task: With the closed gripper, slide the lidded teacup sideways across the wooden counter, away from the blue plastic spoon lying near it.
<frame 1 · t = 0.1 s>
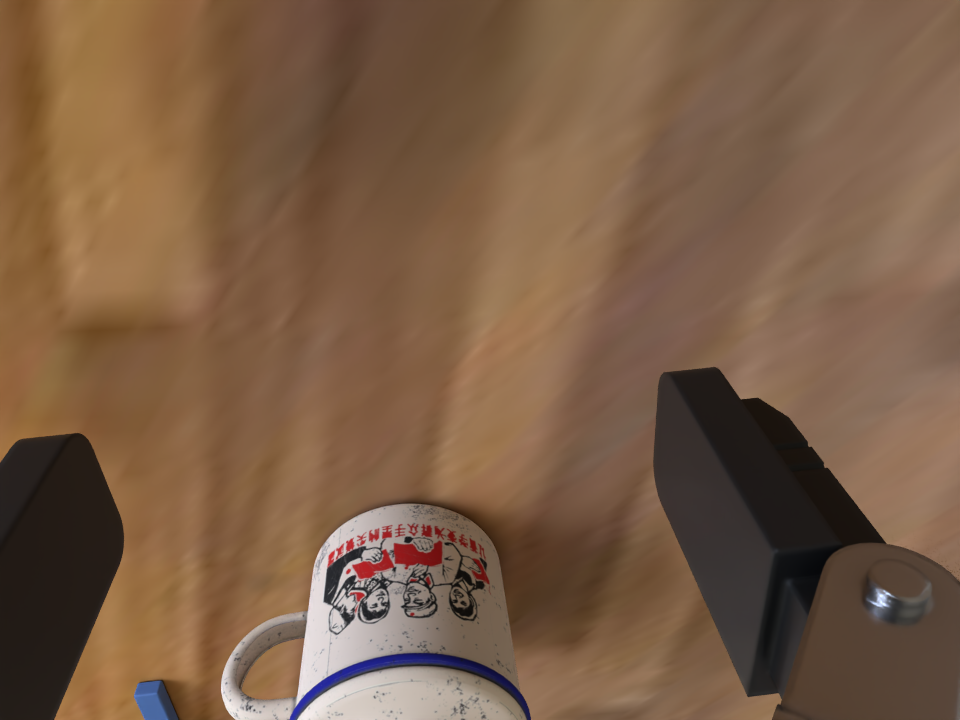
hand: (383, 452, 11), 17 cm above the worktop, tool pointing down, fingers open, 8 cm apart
teacup with lid: (376, 569, 36), on the worktop
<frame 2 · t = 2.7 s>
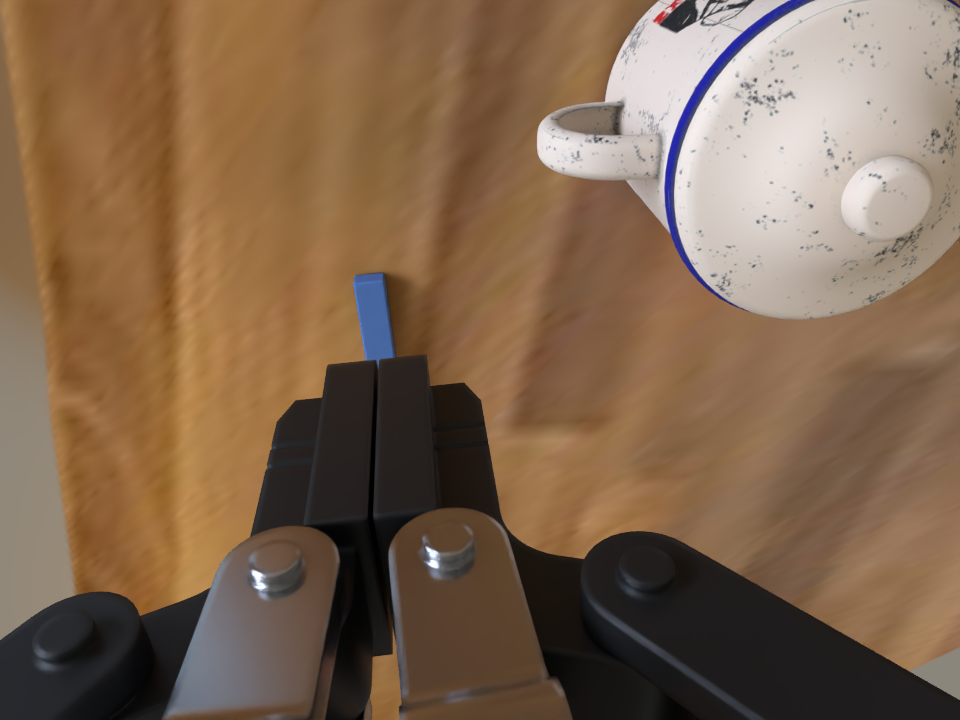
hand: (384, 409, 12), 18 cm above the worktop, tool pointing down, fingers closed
spoon: (392, 425, 34), on the worktop
teacup with lid: (677, 98, 28), on the worktop
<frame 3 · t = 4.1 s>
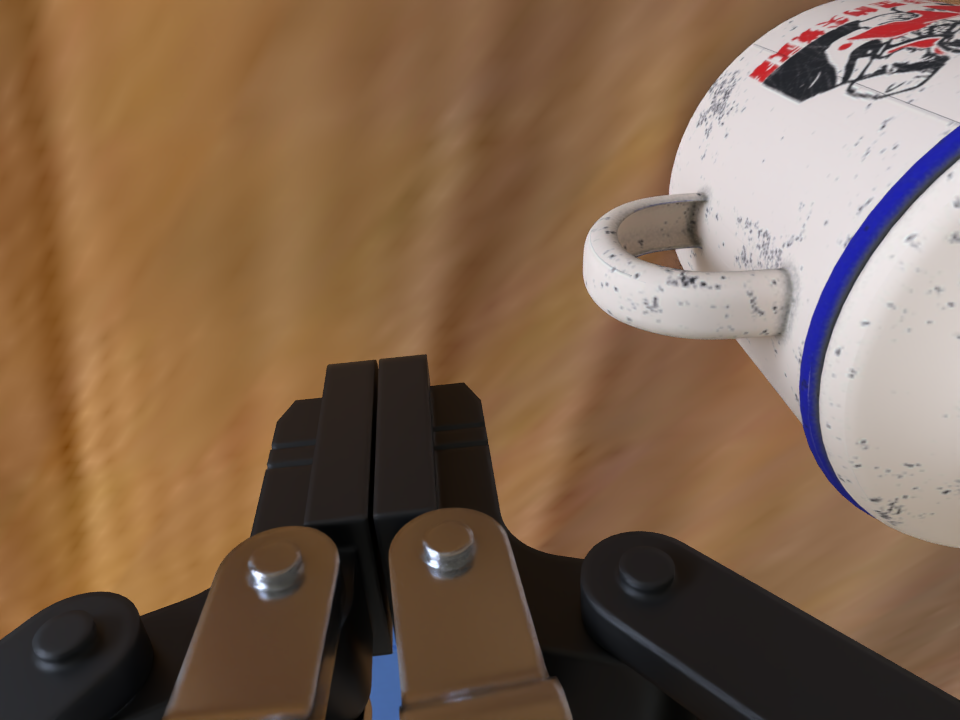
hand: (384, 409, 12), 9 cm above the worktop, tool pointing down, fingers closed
spoon: (375, 585, 26), on the worktop
teacup with lid: (769, 175, 20), on the worktop
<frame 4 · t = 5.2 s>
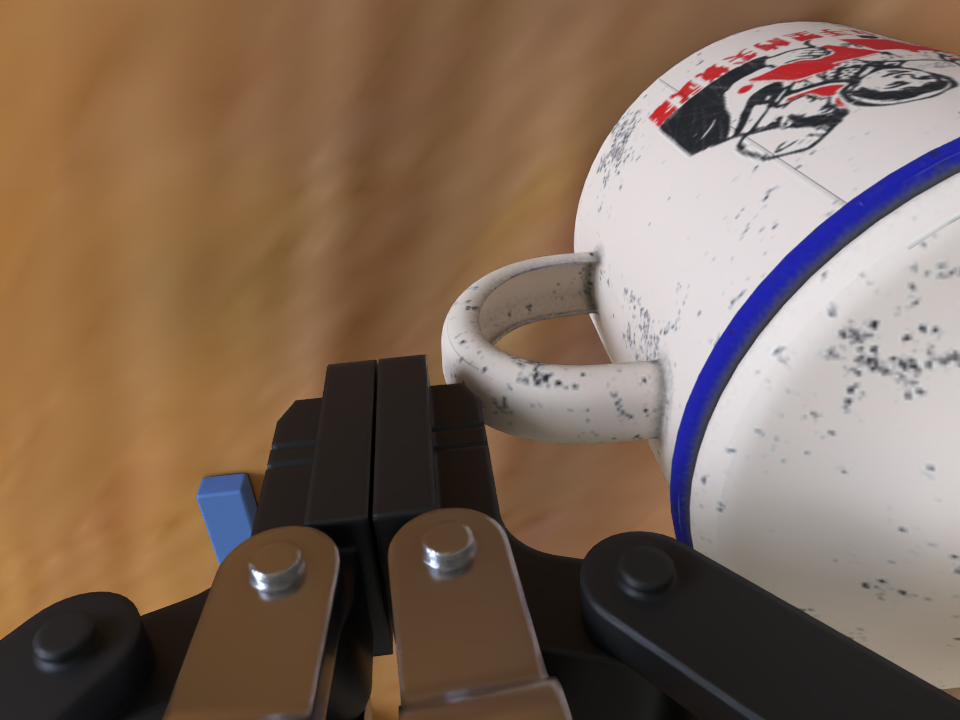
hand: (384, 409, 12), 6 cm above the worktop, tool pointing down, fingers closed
spoon: (282, 659, 24), on the worktop
teacup with lid: (690, 222, 18), on the worktop, touching gripper
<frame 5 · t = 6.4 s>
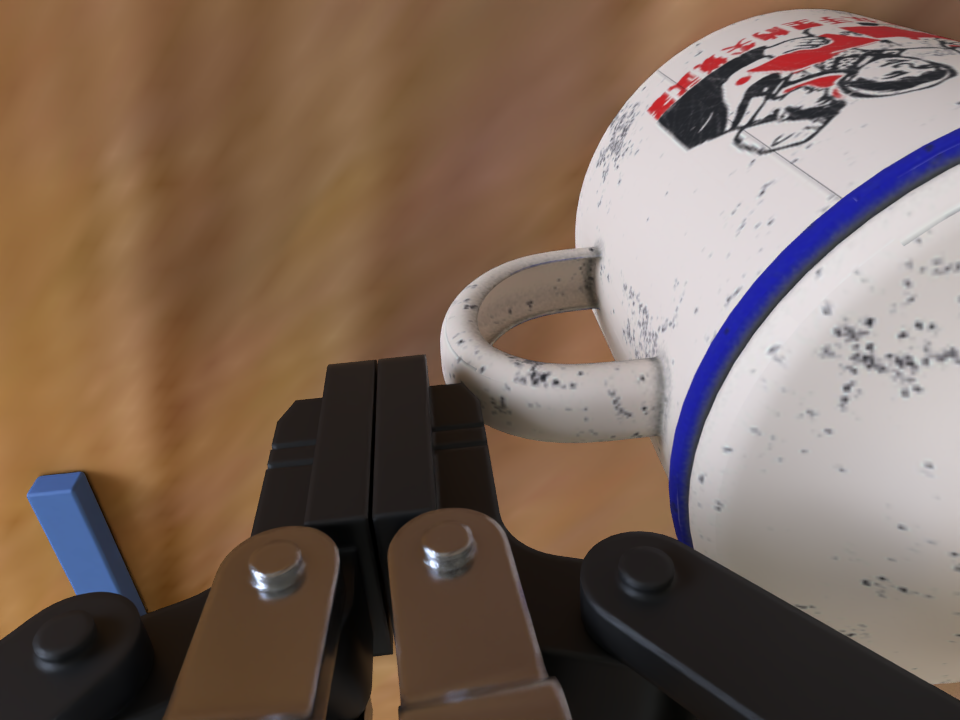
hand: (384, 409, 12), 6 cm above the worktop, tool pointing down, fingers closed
spoon: (147, 657, 23), on the worktop
teacup with lid: (692, 213, 18), on the worktop, touching gripper
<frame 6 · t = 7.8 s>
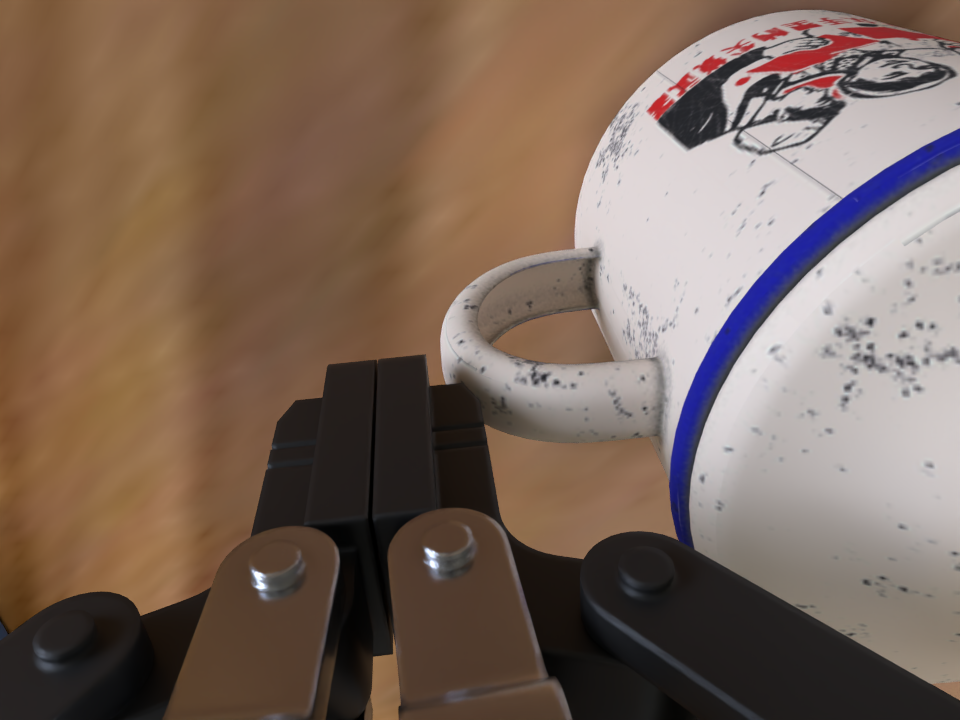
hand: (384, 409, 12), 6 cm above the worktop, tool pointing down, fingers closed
teacup with lid: (692, 214, 18), on the worktop, touching gripper
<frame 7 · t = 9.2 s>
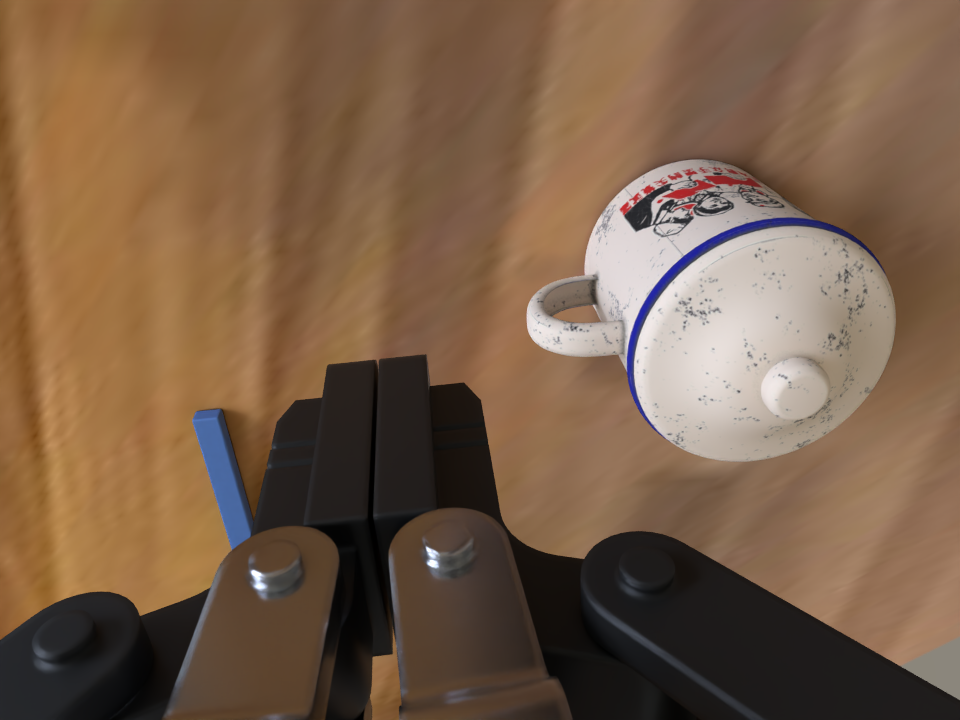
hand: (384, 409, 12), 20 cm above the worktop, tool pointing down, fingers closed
spoon: (244, 532, 38), on the worktop
teacup with lid: (646, 256, 33), on the worktop
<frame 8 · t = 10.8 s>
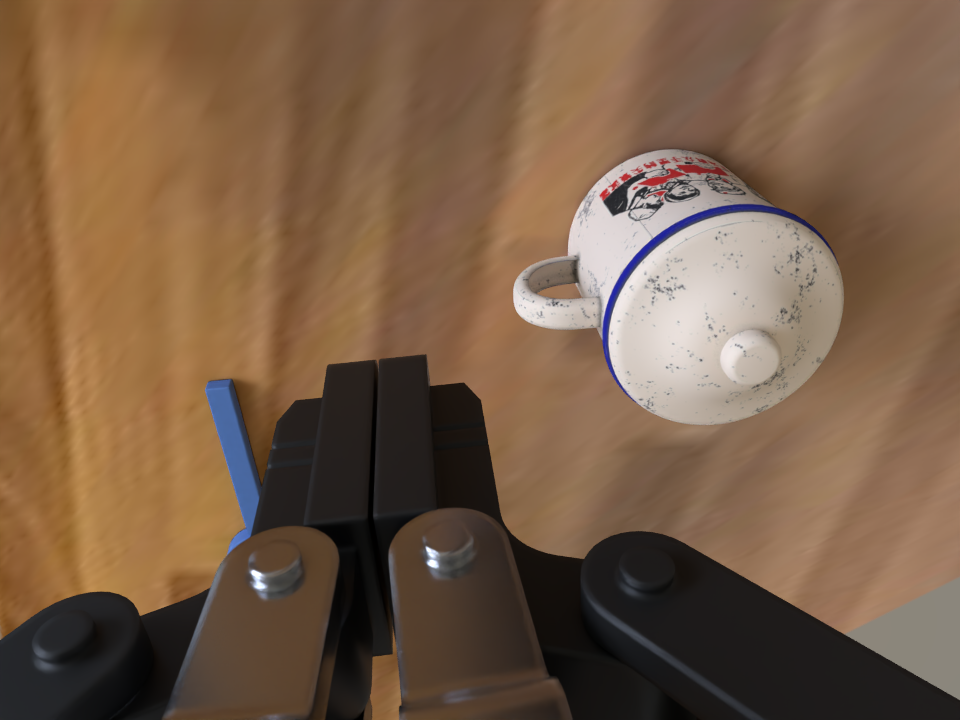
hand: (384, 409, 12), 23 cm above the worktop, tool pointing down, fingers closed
spoon: (252, 494, 41), on the worktop
teacup with lid: (625, 239, 36), on the worktop
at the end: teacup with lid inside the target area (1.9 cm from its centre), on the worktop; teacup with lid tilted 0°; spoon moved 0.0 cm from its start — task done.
